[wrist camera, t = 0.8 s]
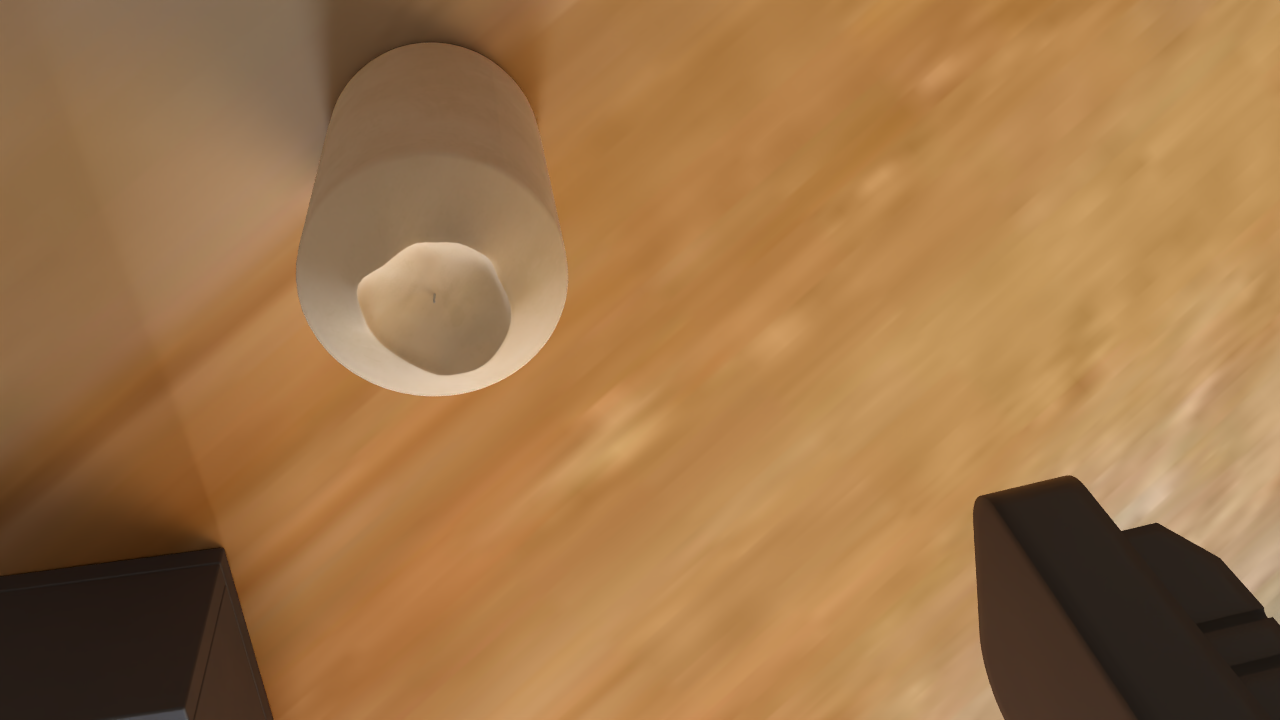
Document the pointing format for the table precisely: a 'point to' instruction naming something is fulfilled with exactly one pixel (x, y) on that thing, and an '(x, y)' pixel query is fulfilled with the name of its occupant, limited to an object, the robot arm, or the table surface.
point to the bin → (128, 643)
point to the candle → (432, 226)
